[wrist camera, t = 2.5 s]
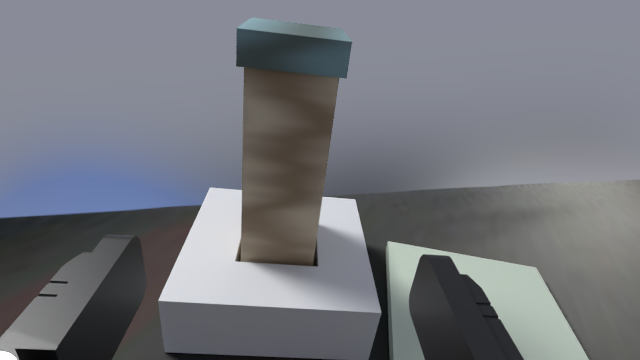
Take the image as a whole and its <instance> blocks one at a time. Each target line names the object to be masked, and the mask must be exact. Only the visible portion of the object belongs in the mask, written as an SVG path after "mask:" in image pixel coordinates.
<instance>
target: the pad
mask: <svg viewBox="0 0 640 360" xmlns="http://www.w3.org/2000/svg"><path fill="white" fill-rule="evenodd" d="M423 254H428V255H445V256H450V257H451V258H452V260H453V262H454V264H455V266H456V267H457V269H458V271H459V273H460V274H467V275H468V276H469V277H470V278H472V279H473V280H474V281H475V282H476V283H477V284H478V285H479V286H480V287H481V288H482V289H483V291H484V293H485V294H486V296H487V298H488V299H489V301H490V303H491V306H493V308H494V309H495V311H496V313H497V315H498V319H500V320H501V321H502V323H503V325H504V326H505V328H506V330H507V331H508V333H509V335H510V337H511V338H512V340H513V342H514V343H515V345H516V347H517V348H518V350H519V352H520V353H521V355H522V357H523V359H524V360H589V359H588V357H587V355H586V353H585V352H584V350H583V348H582V347H581V345H580V343H579V341H578V340H577V338H576V336H575V334H574V333H573V331H572V329H571V328H570V326H569V324H568V322H567V321H566V319H565V317H564V315H563V314H562V312H561V310H560V308H559V307H558V305H557V303H556V302H555V300H554V298H553V296H552V295H551V293H550V291H549V289H548V288H547V286H546V284H545V282H544V281H543V279H542V277H541V276H540V274H539V272H538V270H537V269H536V268H535V267H529V266H524V265H518V264H513V263H507V262H501V261H496V260H490V259H485V258H479V257H473V256H468V255H462V254H457V253H451V252H445V251H440V250H434V249H428V248H423V247H417V246H412V245H406V244H400V243H395V242H389V241H388V244H387V248H386V272H387V300H388V328H389V356H390V360H425V358H424V355H423V352H422V349H421V346H420V343H419V340H418V337H417V333H416V330H415V327H414V324H413V321H412V318H411V315H410V310H409V294H410V290H411V287H412V283H413V280H414V276H415V273H416V269H417V266H418V263H419V259H420V257H421V256H422V255H423Z"/></svg>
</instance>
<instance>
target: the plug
mask: <svg viewBox="0 0 640 360" xmlns="http://www.w3.org/2000/svg"><path fill="white" fill-rule="evenodd" d="M351 44H352V41H351V40H350V39H349V37H348V36H347V35H346V34H345V32H344V31H343V30H342V29H339V28H331V27H323V26H315V25H307V24H298V23H290V22H281V21H274V20H265V19H257V18H251V19H249V20H248V21H246V22H245V23H243V24H242V25H240V26H239V27H238V28H237V61H236V66H239V67H244V105H243V160H242V163H243V164H242V215H241V262H252V263H268V264H283V265H299V266H313V261H314V254H315V247H316V240H317V233H318V226H319V218H320V211H321V204H322V197H323V189H324V182H325V175H326V169H327V161H328V154H329V147H330V140H331V133H332V125H333V119H334V111H335V104H336V97H337V90H338V83H339V78H347V71H348V64H349V58H350V51H351Z"/></svg>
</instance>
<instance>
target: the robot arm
mask: <svg viewBox="0 0 640 360" xmlns="http://www.w3.org/2000/svg"><path fill="white" fill-rule="evenodd" d="M145 288H146V275H145V269H144V262H143V256H142V249H141V243H140V239H139V238H138V237H137V236H122V235H106V236H105V237H104V238H103V239H102V240H101V242H100V243H99V244H98V245H97V247H96V248H95V249H94V250H93V252H92V253H85V252H83V253H82V254H80V255H78V256H77V257H75V258H74V259H72V260H71V261H69V262H68V263H66V264H65V265H63V266H62V268H61V269H60V270H59V271H58V272H57V273H56V274H55V276H54V277H53V278H52V279H51V280H50V284H47V285H46V286H45V287H44V288H43V289H42V291H41V292H40V293H39V296H38V297H36V298H35V299H34V300H33V301H32V302H31V303H30V304H29V306H28V307H27V308H26V309H25V310H24V311H23V313H22V314H21V315H20V316H19V317H18V318H17V319H16V321H15V322H14V323H13V324H12V325H11V326H10V328H9V329H8V330H7V331H6V332H5V333H4V334H3V336H2V337H1V338H0V360H112V358H113V356H114V354H115V352H116V350H117V348H118V346H119V344H120V342H121V340H122V339H123V337H124V335H125V333H126V331H127V329H128V327H129V325H130V323H131V321H132V319H133V317H134V315H135V313H136V311H137V310H138V308H139V306H140V304H141V302H142V299H143V297H144V293H145ZM409 310H410V315H411V318H412V321H413V324H414V327H415V330H416V333H417V337H418V340H419V343H420V346H421V349H422V352H423V355H424V358H425V360H524V359H523V357H522V355H521V353H520V352H519V350H518V348H517V347H516V345H515V343H514V342H513V340H512V338H511V337H510V335H509V333H508V331H507V330H506V328H505V326H504V325H503V323H502V321H501V320H500V319H498V315H497V313H496V311H495V309H494V308H493V306H491V303H490V301H489V299H488V298H487V296H486V294H485V293H484V291H483V289H482V288H481V287H480V286H479V285H478V284H477V283H476V282H475V281H474V280H473V279H472V278H470V277H469V276H468V275H467V274H460V273H459V271H458V269H457V267H456V266H455V264H454V262H453V260H452V258H451V257H450V256H445V255H428V254H423V255H422V256H421V257H420V259H419V263H418V266H417V269H416V273H415V276H414V280H413V283H412V287H411V290H410V294H409Z"/></svg>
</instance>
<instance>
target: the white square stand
mask: <svg viewBox="0 0 640 360" xmlns="http://www.w3.org/2000/svg"><path fill="white" fill-rule="evenodd" d="M241 215H242V190H232V189H220V188H210V189H209V191H208V193H207V196H206V198H205V200H204V202H203V204H202V206H201V209H200V211H199V213H198V215H197V217H196V220H195V222H194V224H193V226H192V228H191V230H190V233H189V235H188V237H187V239H186V241H185V243H184V246H183V248H182V250H181V252H180V254H179V257H178V259H177V261H176V263H175V265H174V267H173V270H172V272H171V274H170V276H169V278H168V281H167V283H166V285H165V287H164V289H163V291H162V294H161V296H160V298H159V300H158V303H159V311H160V319H161V327H162V335H163V342H164V350H165V352H170V353H194V354H218V355H242V356H265V357H289V358H313V359H336V360H368V359H369V356H370V352H371V349H372V345H373V341H374V338H375V334H376V331H377V327H378V324H379V320H380V316H381V309H380V305H379V300H378V296H377V292H376V287H375V283H374V279H373V274H372V270H371V266H370V261H369V257H368V253H367V249H366V244H365V240H364V236H363V231H362V227H361V223H360V218H359V214H358V210H357V205H356V201H355V199H343V198H330V197H322V204H321V211H320V218H319V226H318V233H317V240H316V247H315V254H314V261H313V266H299V265H283V264H268V263H252V262H241Z"/></svg>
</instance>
